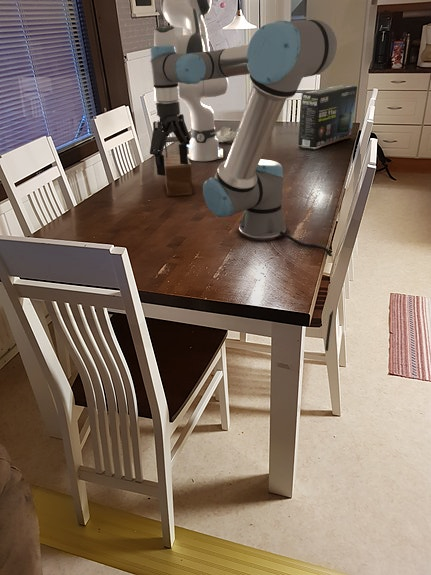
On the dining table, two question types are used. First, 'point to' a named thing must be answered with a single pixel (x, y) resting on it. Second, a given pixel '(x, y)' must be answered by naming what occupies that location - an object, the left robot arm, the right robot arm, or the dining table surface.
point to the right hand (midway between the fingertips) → (173, 169)
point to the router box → (326, 115)
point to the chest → (178, 181)
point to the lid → (173, 157)
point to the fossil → (226, 135)
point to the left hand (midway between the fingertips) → (171, 114)
